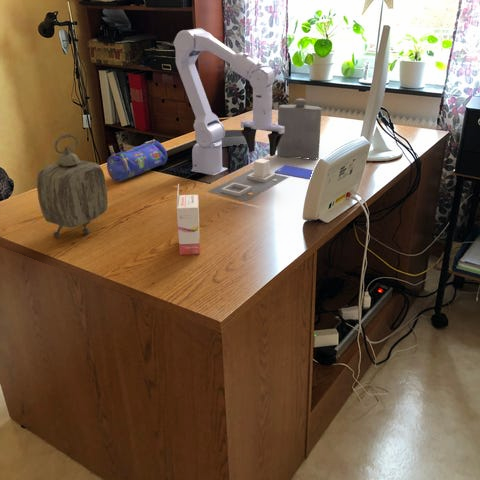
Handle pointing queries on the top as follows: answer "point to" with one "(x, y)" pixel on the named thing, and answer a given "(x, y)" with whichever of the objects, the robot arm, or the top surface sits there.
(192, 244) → the ink cartridge box
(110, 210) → the top surface
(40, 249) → the top surface
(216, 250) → the top surface
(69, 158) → the tabletop clock
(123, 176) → the pencil case
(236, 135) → the external hard drive
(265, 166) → the plug
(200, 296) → the top surface
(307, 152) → the flask
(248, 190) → the port panel
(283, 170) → the hard drive
